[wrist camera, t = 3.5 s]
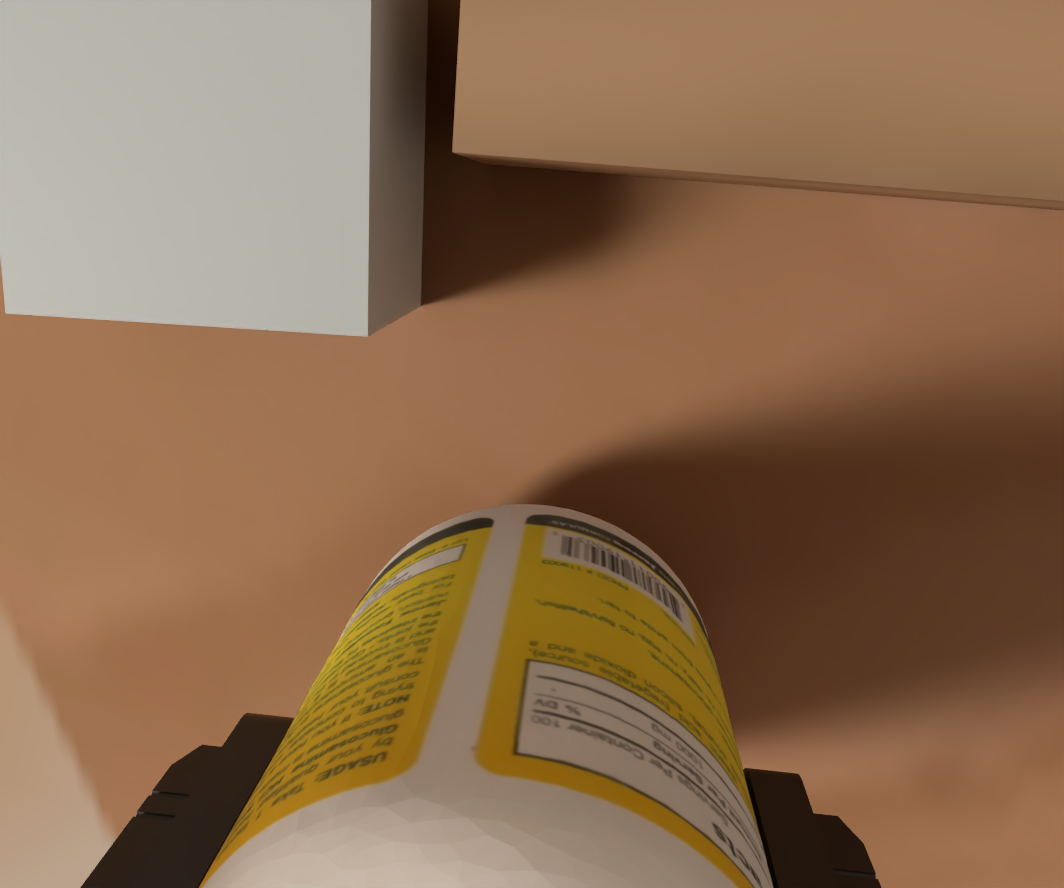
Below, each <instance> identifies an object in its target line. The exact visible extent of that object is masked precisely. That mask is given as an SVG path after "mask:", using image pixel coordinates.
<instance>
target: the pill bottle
mask: <svg viewBox="0 0 1064 888" xmlns="http://www.w3.org/2000/svg"><path fill="white" fill-rule="evenodd" d="M199 888H773V884H772V880H771V876H770V873H769V869H768V866H767V860H766V856H765V852H764V849H763V845H762V841H761V838H760V834H759V830H758V826H757V822H756V818H755V814H754V811H753V807H752V803H751V799H750V796H749V792H748V788H747V784H746V780H745V776H744V772H743V768H742V764H741V760H740V756H739V752H738V748H737V745H736V741H735V737H734V734H733V730H732V726H731V722H730V719H729V715H728V710H727V706H726V701H725V697H724V694H723V689H722V685H721V681H720V677H719V673H718V670H717V666H716V663H715V659H714V655H713V651H712V647H711V644H710V641H709V638H708V635H707V631H706V628H705V626H704V623H703V621H702V618H701V616H700V614H699V612H698V610H697V607H696V605H695V603H694V601H693V600H692V598H691V596H690V595H689V593H688V591H687V590H686V588H685V586H684V585H683V583H682V582H681V581H680V580H679V578H678V577H677V576H676V575H675V573H674V572H673V571H672V569H671V568H670V567H669V566H668V565H667V564H666V563H665V562H664V561H663V560H662V559H661V558H660V557H659V556H658V555H657V554H656V553H654V552H653V551H652V550H651V549H650V548H649V547H647V546H646V545H645V544H643V543H642V542H641V541H639V540H638V539H636V538H635V537H633V536H632V535H630V534H628V533H627V532H625V531H623V530H622V529H620V528H618V527H616V526H615V525H612V524H610V523H608V522H606V521H603V520H601V519H599V518H596V517H593V516H590V515H587V514H585V513H581V512H578V511H575V510H571V509H566V508H560V507H555V506H548V505H537V504H512V505H501V506H495V507H489V508H483V509H479V510H475V511H471V512H467V513H465V514H462V515H459V516H456V517H453V518H451V519H449V520H447V521H444V522H442V523H440V524H438V525H436V526H434V527H432V528H430V529H428V530H427V531H425V532H424V533H422V534H421V535H419V536H418V537H417V538H415V539H414V540H412V541H411V542H410V543H408V544H407V545H406V546H405V547H404V548H402V549H401V550H400V551H399V552H398V553H397V554H396V555H395V556H394V557H393V558H392V559H391V560H390V561H389V562H388V563H387V565H386V566H385V567H384V568H383V569H382V570H381V572H380V573H379V574H378V575H377V576H376V578H375V579H374V581H373V582H372V584H371V585H370V587H369V588H368V590H367V592H366V593H365V595H364V596H363V598H362V599H361V601H360V602H359V604H358V606H357V607H356V609H355V611H354V613H353V615H352V616H351V618H350V619H349V621H348V623H347V625H346V627H345V629H344V630H343V632H342V634H341V636H340V638H339V640H338V642H337V644H336V646H335V648H334V649H333V651H332V653H331V654H330V656H329V658H328V659H327V661H326V663H325V665H324V667H323V669H322V671H321V672H320V674H319V676H318V677H317V679H316V680H315V682H314V683H313V685H312V687H311V689H310V691H309V693H308V695H307V697H306V699H305V701H304V703H303V704H302V706H301V708H300V710H299V712H298V713H297V715H296V717H295V718H294V720H293V722H292V724H291V726H290V728H289V729H288V731H287V733H286V735H285V736H284V738H283V740H282V742H281V744H280V746H279V747H278V749H277V751H276V753H275V755H274V756H273V758H272V760H271V762H270V764H269V765H268V767H267V769H266V770H265V772H264V774H263V776H262V778H261V779H260V781H259V783H258V785H257V786H256V788H255V790H254V792H253V793H252V795H251V797H250V799H249V800H248V802H247V804H246V806H245V807H244V809H243V811H242V812H241V814H240V816H239V818H238V819H237V821H236V823H235V825H234V826H233V828H232V830H231V832H230V833H229V835H228V837H227V839H226V840H225V842H224V844H223V846H222V847H221V849H220V851H219V853H218V854H217V856H216V858H215V860H214V861H213V863H212V865H211V867H210V869H209V870H208V872H207V874H206V876H205V877H204V879H203V881H202V883H201V884H200V886H199Z"/></svg>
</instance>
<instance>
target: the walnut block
mask: <svg viewBox="0 0 1064 888" xmlns="http://www.w3.org/2000/svg"><path fill="white" fill-rule="evenodd" d="M452 152H453V153H456V154H458V155H461V156H464V157H466V158H469V159H472V160H475V161H477V162H480V163H483V164H493V165H506V166H518V167H531V168H543V169H556V170H568V171H581V172H593V173H606V174H618V175H631V176H643V177H656V178H668V179H680V180H693V181H705V182H718V183H730V184H743V185H755V186H768V187H780V188H793V189H805V190H818V191H830V192H843V193H855V194H868V195H880V196H893V197H905V198H918V199H930V200H943V201H955V202H968V203H980V204H993V205H1005V206H1017V207H1030V208H1042V209H1055V210H1064V0H460V19H459V37H458V55H457V73H456V91H455V110H454V128H453V146H452Z"/></svg>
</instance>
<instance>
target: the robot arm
mask: <svg viewBox="0 0 1064 888" xmlns="http://www.w3.org/2000/svg"><path fill="white" fill-rule="evenodd" d="M293 720H294V718H289V717H280V716H271V715H262V714H252V713H246V714H245V715H244V716H243V717H242V718H241V719H240V721H239V722H238V724H237V725H236V727H235V728H234V730H233V731H232V733H231V734H230V736H229V737H228V739H227V740H226V742H225V743H224V745H223V746H222V747H217V746H208V745H201V746H200V747H198V748H197V749H195V750H194V751H192V752H191V753H189V754H187V755H186V756H184V757H183V758H181V759H180V760H178V761H177V762H175V763H174V764H172V765H171V766H170V768H169V769H168V770H167V772H166V773H165V774H164V776H163V777H162V778H161V780H160V781H159V782H158V784H157V785H156V787H155V788H154V789H153V792H152V795H151V796H148V797H147V799H146V800H145V801H144V803H143V804H142V805H141V807H140V808H139V809H138V811H137V815H136V817H133V818H132V819H131V820H130V822H129V823H128V824H127V826H126V827H125V828H124V830H123V831H122V832H121V834H120V835H119V836H118V838H117V839H116V840H115V842H114V843H113V845H112V846H111V847H110V849H109V850H108V851H107V853H106V854H105V855H104V857H103V858H102V859H101V861H100V862H99V863H98V865H97V866H96V867H95V869H94V870H93V872H92V873H91V874H90V876H89V877H88V878H87V880H86V881H85V882H84V884H83V885H82V886H81V888H199V886H200V884H201V883H202V881H203V879H204V877H205V876H206V874H207V872H208V870H209V869H210V867H211V865H212V863H213V861H214V860H215V858H216V856H217V854H218V853H219V851H220V849H221V847H222V846H223V844H224V842H225V840H226V839H227V837H228V835H229V833H230V832H231V830H232V828H233V826H234V825H235V823H236V821H237V819H238V818H239V816H240V814H241V812H242V811H243V809H244V807H245V806H246V804H247V802H248V800H249V799H250V797H251V795H252V793H253V792H254V790H255V788H256V786H257V785H258V783H259V781H260V779H261V778H262V776H263V774H264V772H265V770H266V769H267V767H268V765H269V764H270V762H271V760H272V758H273V756H274V755H275V753H276V751H277V749H278V747H279V746H280V744H281V742H282V740H283V738H284V736H285V735H286V733H287V731H288V729H289V728H290V726H291V724H292V722H293ZM743 772H744V776H745V780H746V784H747V788H748V792H749V796H750V799H751V803H752V807H753V811H754V814H755V818H756V822H757V826H758V830H759V834H760V838H761V841H762V845H763V849H764V852H765V856H766V860H767V866H768V869H769V873H770V876H771V880H772V884H773V888H881V886H880V883H879V881H878V879H876V877H875V874H876V873H875V871H874V868H873V866H872V863H871V861H870V858H869V856H868V853H867V851H866V848H865V846H864V844H863V843H862V841H861V840H860V839H859V838H858V837H857V836H856V835H855V834H854V833H853V832H852V831H851V830H850V829H849V828H848V827H847V826H846V825H845V823H844V822H843V821H842V820H841V819H840V818H839V817H838V816H832V815H823V814H814V813H813V811H812V808H811V805H810V802H809V799H808V796H807V793H806V791H805V788H804V785H803V782H802V779H801V777H800V776H799V774H795V773H786V772H777V771H768V770H759V769H749V768H745V769H744V770H743Z"/></svg>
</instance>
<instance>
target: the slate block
mask: <svg viewBox="0 0 1064 888" xmlns="http://www.w3.org/2000/svg"><path fill="white" fill-rule="evenodd" d="M427 31H428V0H0V256H1V268H2V279H3V290H4V302H5V313H7V314H23V315H38V316H54V317H70V318H85V319H101V320H116V321H132V322H148V323H163V324H179V325H195V326H210V327H226V328H242V329H257V330H273V331H288V332H304V333H320V334H335V335H351V336H367V337H368V336H370V335H371V334H373V333H375V332H377V331H378V330H380V329H382V328H383V327H385V326H387V325H389V324H390V323H392V322H394V321H396V320H397V319H399V318H401V317H403V316H404V315H406V314H408V313H409V312H411V311H413V310H415V309H416V308H418V307H420V306H421V280H422V239H423V197H424V156H425V114H426V72H427Z"/></svg>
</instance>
